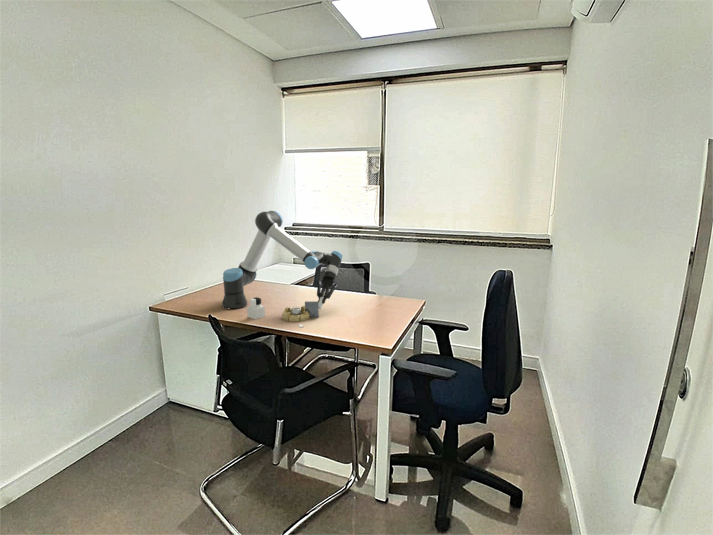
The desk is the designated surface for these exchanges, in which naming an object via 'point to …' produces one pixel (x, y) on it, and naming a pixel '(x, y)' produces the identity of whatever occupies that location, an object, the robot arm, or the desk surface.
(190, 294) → the desk surface
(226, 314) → the desk surface
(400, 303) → the desk surface
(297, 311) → the housing plate
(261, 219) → the robot arm
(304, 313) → the block with gold ring
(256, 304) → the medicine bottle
